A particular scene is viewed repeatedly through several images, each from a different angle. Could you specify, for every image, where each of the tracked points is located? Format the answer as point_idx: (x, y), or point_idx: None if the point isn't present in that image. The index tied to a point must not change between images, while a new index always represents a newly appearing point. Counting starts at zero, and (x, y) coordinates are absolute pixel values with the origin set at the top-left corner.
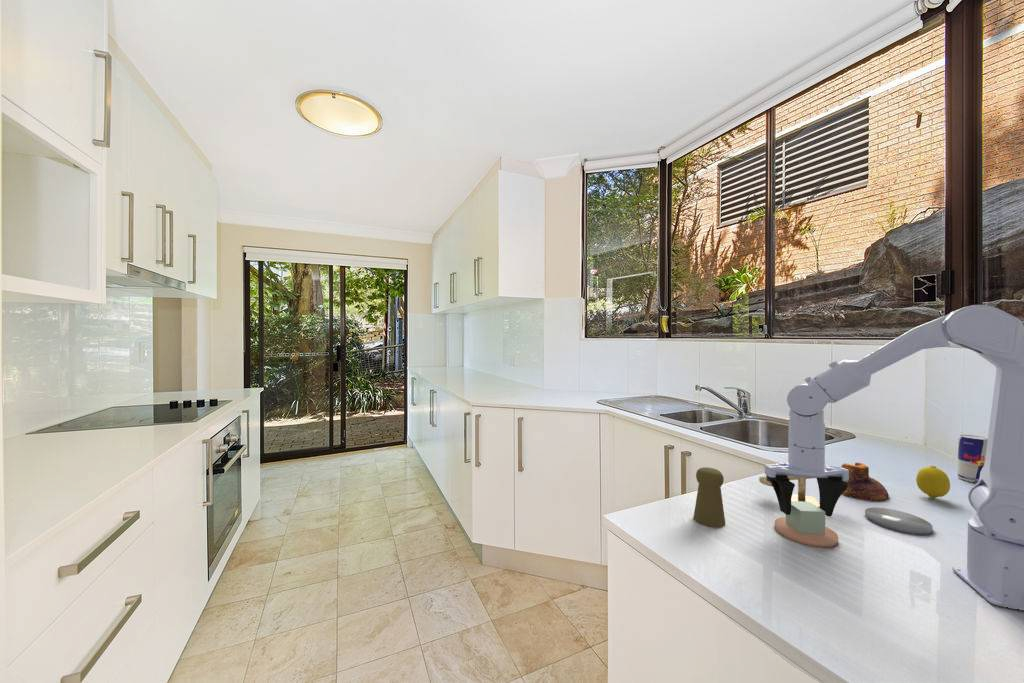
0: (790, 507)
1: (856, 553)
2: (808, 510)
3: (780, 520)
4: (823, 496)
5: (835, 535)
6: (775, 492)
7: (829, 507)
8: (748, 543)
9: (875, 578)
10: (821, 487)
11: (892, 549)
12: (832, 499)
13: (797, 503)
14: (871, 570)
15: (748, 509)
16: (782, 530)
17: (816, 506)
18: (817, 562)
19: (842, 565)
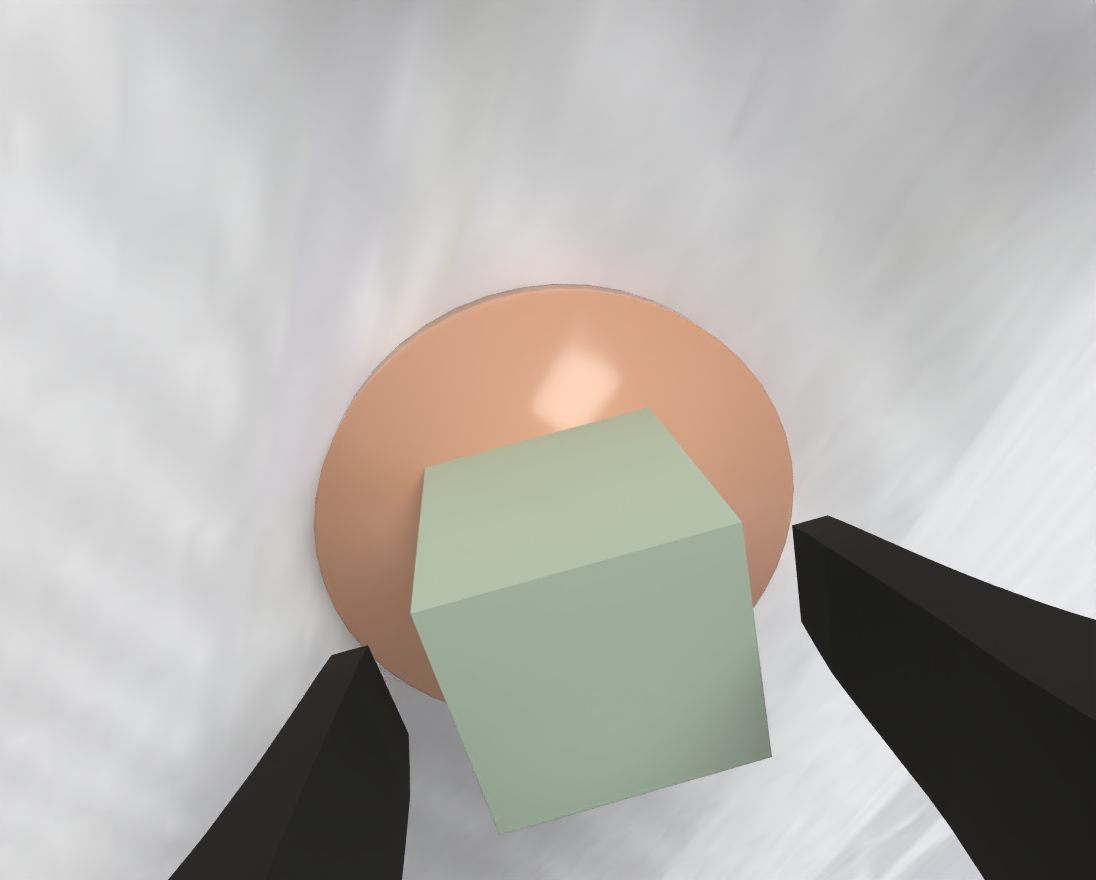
0: (399, 839)
1: (779, 666)
2: (594, 796)
3: (384, 434)
4: (942, 700)
5: (761, 565)
6: (192, 857)
7: (869, 713)
8: (88, 811)
9: (714, 868)
10: (1064, 778)
11: (1060, 525)
12: (967, 843)
13: (544, 648)
14: (742, 810)
15: (73, 46)
16: (355, 633)
17: (753, 648)
18: (486, 847)
19: (614, 823)
